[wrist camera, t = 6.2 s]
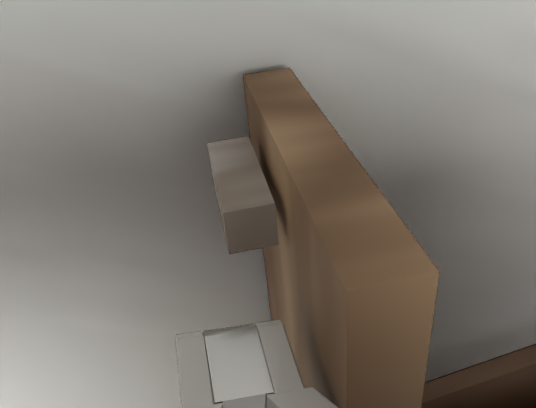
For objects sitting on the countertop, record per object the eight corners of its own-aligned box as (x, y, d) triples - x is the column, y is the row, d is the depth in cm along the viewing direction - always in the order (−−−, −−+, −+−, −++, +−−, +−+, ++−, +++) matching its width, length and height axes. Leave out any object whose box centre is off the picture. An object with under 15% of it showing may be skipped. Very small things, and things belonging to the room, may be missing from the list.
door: (293, 67, 13) (447, 270, 6) (314, 427, 22) (388, 669, 15) (195, 82, 13) (249, 311, 6) (257, 441, 21) (306, 694, 15)
